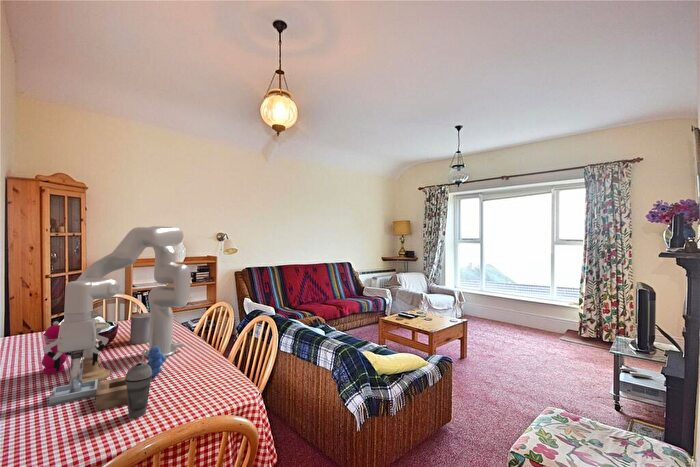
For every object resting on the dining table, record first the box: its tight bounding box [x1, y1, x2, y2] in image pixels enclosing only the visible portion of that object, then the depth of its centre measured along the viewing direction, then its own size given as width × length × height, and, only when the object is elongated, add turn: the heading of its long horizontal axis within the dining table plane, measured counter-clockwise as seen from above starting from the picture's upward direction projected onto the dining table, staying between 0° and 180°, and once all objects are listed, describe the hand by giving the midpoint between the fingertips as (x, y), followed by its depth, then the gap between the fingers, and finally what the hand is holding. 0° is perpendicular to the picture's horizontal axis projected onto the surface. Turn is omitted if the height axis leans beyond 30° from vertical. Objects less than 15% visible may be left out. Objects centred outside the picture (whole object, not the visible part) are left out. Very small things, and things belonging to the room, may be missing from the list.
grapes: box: [146, 347, 167, 378], centre depth 127 cm, size 12×7×12 cm, turn 49°
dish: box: [48, 379, 98, 407], centre depth 109 cm, size 12×9×2 cm
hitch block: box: [95, 376, 128, 412], centre depth 108 cm, size 11×11×5 cm
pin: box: [69, 350, 84, 393], centre depth 110 cm, size 3×3×14 cm
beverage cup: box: [125, 348, 153, 419], centre depth 99 cm, size 7×7×20 cm
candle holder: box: [68, 321, 111, 383], centre depth 123 cm, size 12×12×20 cm
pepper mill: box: [41, 320, 67, 376], centre depth 128 cm, size 7×7×20 cm
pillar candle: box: [129, 312, 150, 345], centre depth 166 cm, size 10×10×15 cm
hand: (76, 367), depth 109 cm, fingers open, 9 cm apart
